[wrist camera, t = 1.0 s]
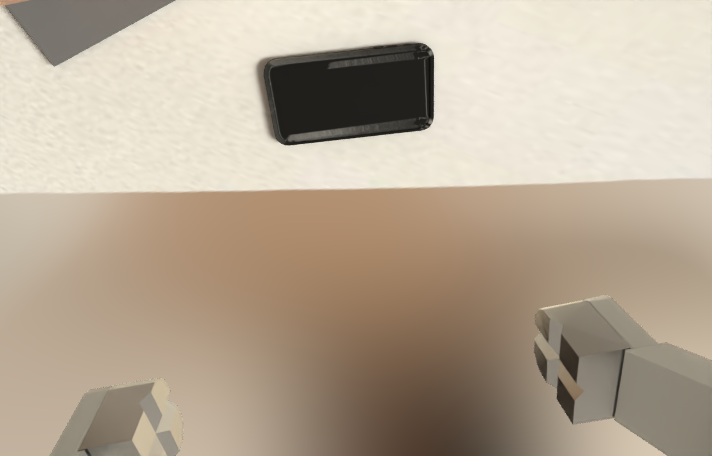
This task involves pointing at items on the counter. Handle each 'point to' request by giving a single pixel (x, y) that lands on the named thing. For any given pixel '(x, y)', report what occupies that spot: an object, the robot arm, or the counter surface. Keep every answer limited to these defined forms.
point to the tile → (9, 2)
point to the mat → (77, 22)
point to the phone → (351, 93)
